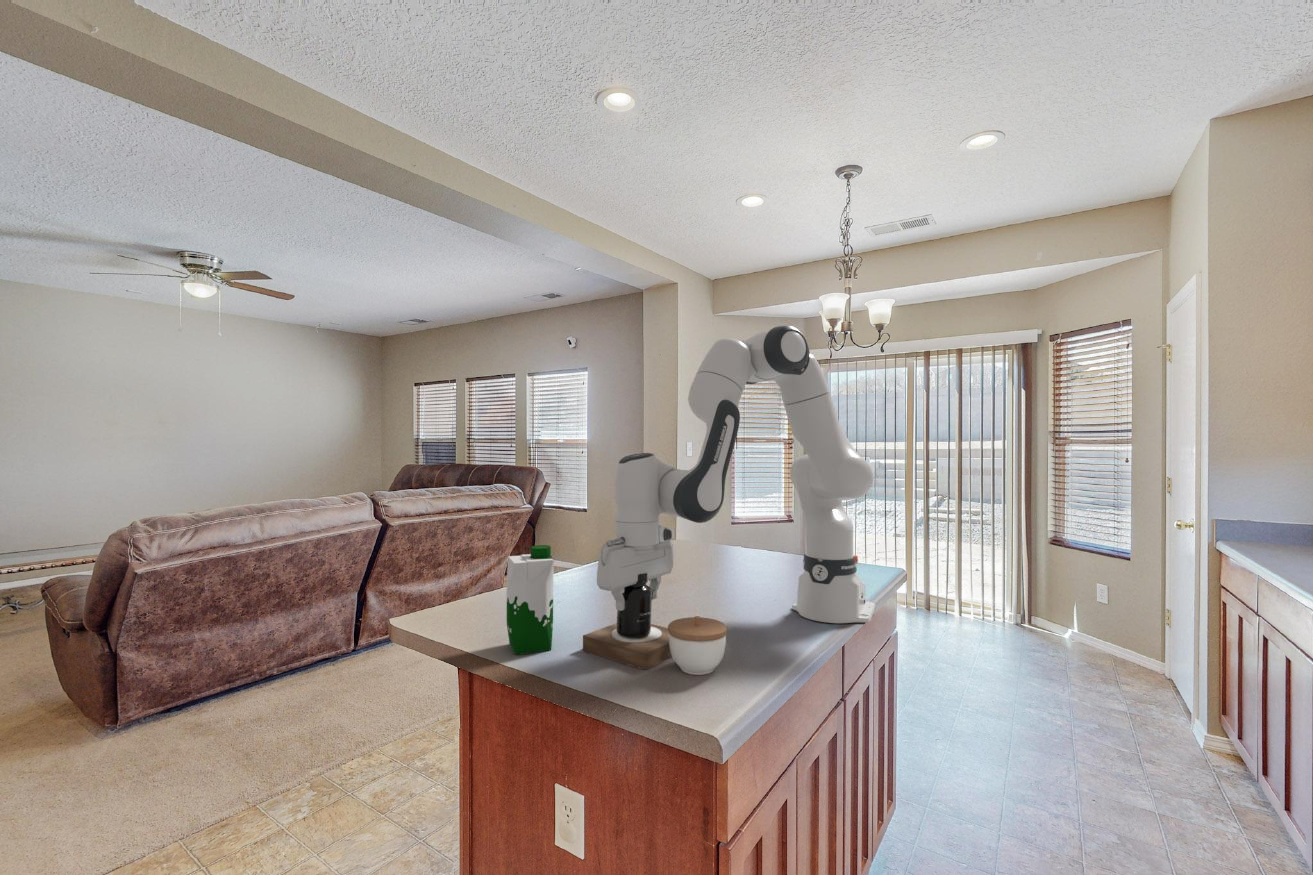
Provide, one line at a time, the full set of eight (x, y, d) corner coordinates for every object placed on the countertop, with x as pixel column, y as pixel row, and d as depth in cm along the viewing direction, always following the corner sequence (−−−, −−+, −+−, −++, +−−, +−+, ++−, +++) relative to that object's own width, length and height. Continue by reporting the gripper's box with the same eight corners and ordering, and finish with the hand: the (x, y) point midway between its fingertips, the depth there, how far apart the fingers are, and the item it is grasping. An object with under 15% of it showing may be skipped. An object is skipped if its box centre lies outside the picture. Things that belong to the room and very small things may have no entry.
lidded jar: (725, 682, 97) (725, 627, 97) (663, 678, 99) (663, 624, 99) (728, 659, 108) (728, 609, 108) (672, 655, 110) (672, 607, 110)
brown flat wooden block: (628, 632, 123) (628, 617, 123) (689, 648, 114) (689, 631, 114) (582, 650, 112) (582, 633, 112) (646, 670, 103) (646, 651, 103)
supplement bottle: (648, 639, 108) (649, 576, 109) (613, 637, 109) (614, 574, 110) (653, 629, 115) (654, 569, 116) (620, 627, 116) (621, 568, 117)
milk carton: (557, 651, 112) (557, 549, 112) (510, 657, 109) (510, 552, 109) (547, 637, 120) (547, 542, 121) (503, 643, 117) (504, 545, 117)
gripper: (614, 543, 103) (614, 619, 103) (678, 529, 119) (679, 595, 119) (588, 540, 107) (589, 613, 107) (655, 527, 123) (655, 591, 123)
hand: (637, 604), depth 113 cm, fingers open, 8 cm apart
